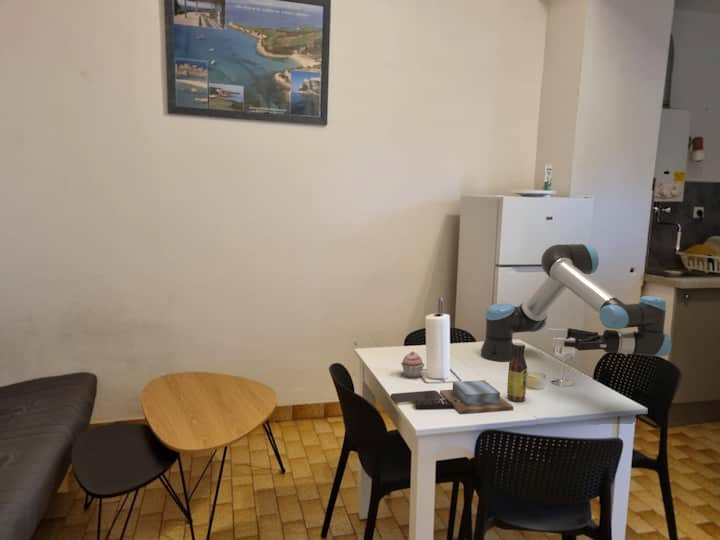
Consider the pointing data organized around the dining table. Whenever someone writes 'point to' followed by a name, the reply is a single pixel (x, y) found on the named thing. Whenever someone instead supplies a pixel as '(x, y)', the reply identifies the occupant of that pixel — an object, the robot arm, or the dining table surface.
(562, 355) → the wineglass
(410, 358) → the cupcake
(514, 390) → the sauce bottle
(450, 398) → the base
